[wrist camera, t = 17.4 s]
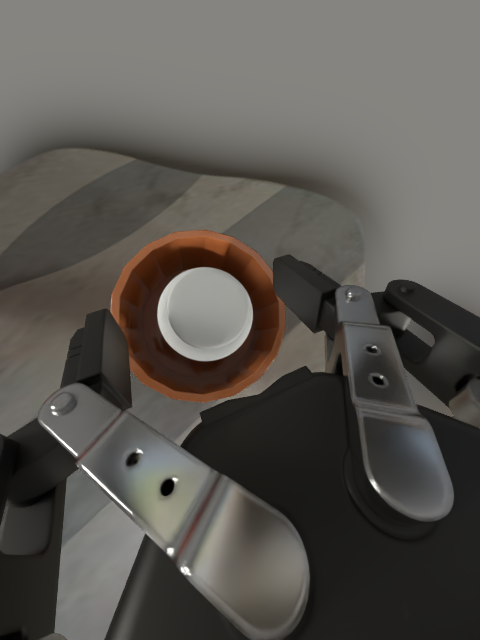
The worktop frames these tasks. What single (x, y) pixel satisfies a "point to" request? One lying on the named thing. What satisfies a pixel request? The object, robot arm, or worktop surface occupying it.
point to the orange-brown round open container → (143, 329)
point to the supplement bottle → (205, 314)
